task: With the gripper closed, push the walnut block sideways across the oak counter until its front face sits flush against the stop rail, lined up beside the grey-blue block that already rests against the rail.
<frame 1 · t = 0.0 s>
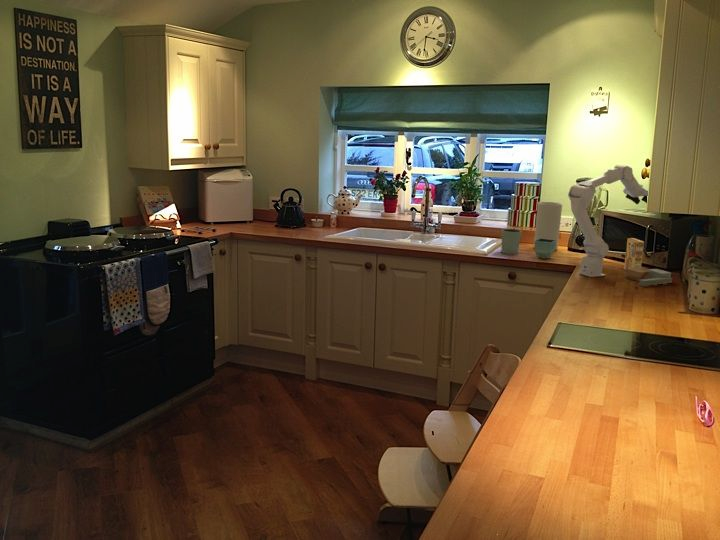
hand: (645, 203, 327), 32 cm above the countertop, tool tilted 50°, fingers open, 7 cm apart
walnut block: (637, 279, 317), on the countertop
candy box: (631, 271, 333), on the countertop
flower pot: (543, 257, 357), on the countertop
stop rail: (655, 284, 308), on the countertop
green tapered cup: (509, 253, 365), on the countertop
grey-blue block: (657, 280, 317), on the countertop
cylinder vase: (545, 249, 380), on the countertop
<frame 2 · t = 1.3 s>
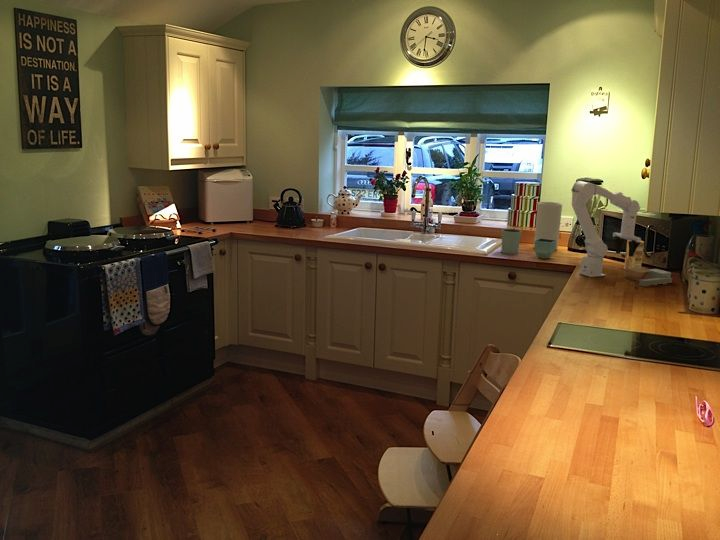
hand: (624, 254, 323), 9 cm above the countertop, tool pointing down, fingers open, 7 cm apart
nothing on the countertop moved.
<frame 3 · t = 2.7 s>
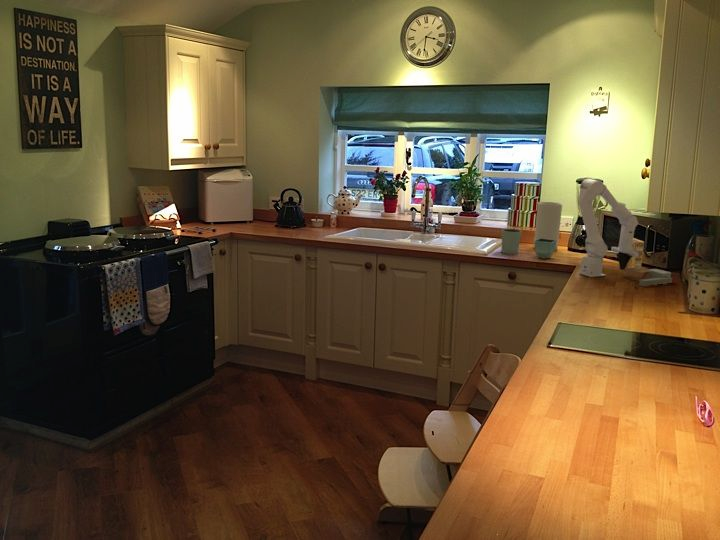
hand: (622, 269, 324), 3 cm above the countertop, tool pointing down, fingers closed
nothing on the countertop moved.
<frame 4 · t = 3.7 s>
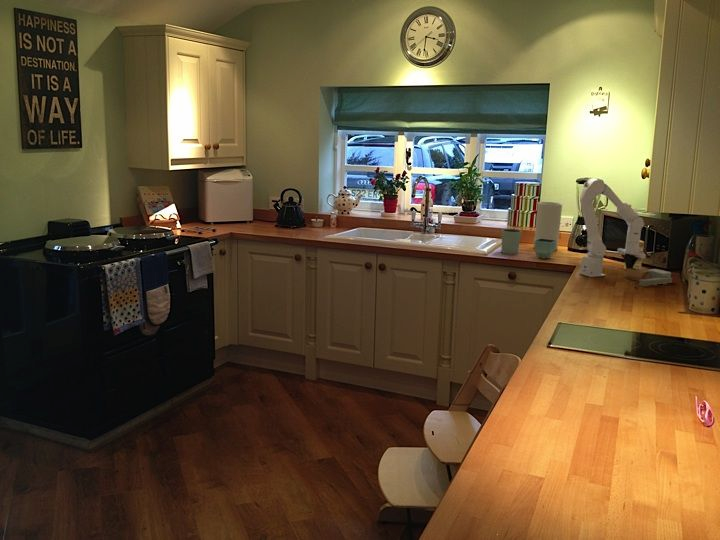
hand: (628, 270, 321), 3 cm above the countertop, tool pointing down, fingers closed
walnut block: (637, 279, 317), on the countertop, touching gripper
everything else where it was.
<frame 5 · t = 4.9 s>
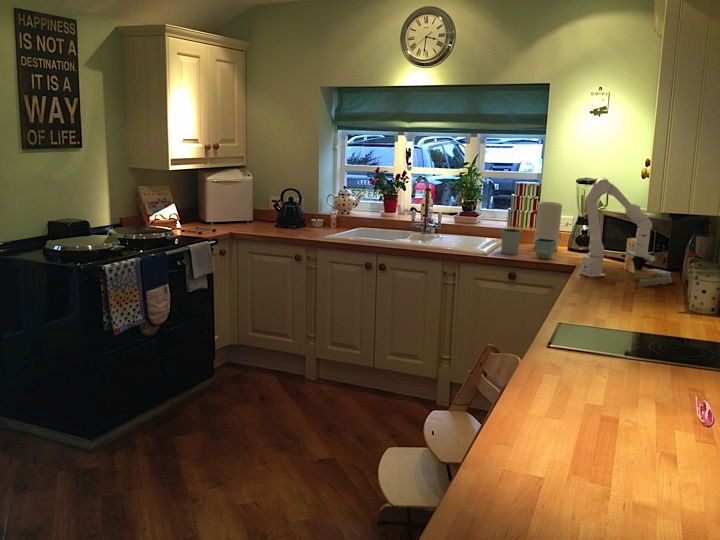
hand: (637, 273, 317), 3 cm above the countertop, tool pointing down, fingers closed
walnut block: (645, 281, 313), on the countertop, touching gripper, stop rail
everything else where it was.
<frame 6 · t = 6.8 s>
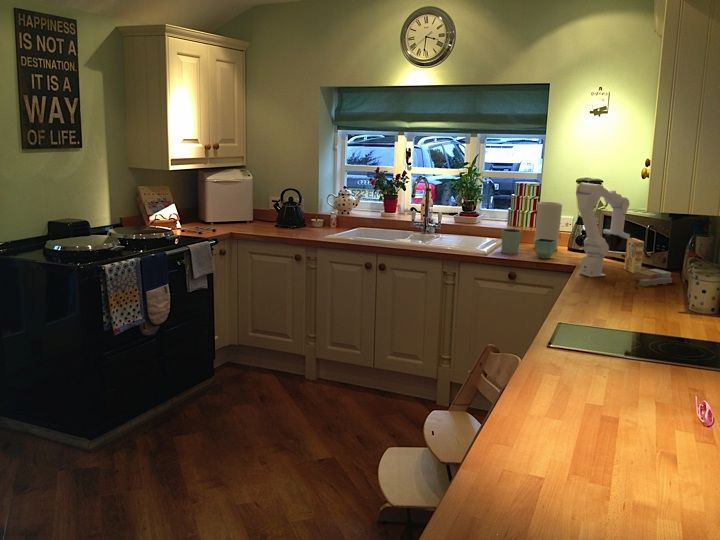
hand: (614, 251, 328), 10 cm above the countertop, tool pointing down, fingers closed
walnut block: (645, 282, 313), on the countertop
everything else where it was.
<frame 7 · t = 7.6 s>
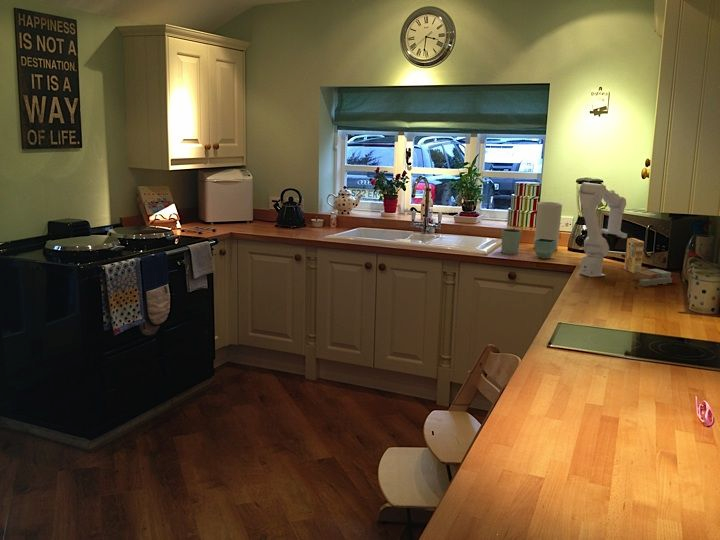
hand: (611, 250, 330), 10 cm above the countertop, tool pointing down, fingers closed
nothing on the countertop moved.
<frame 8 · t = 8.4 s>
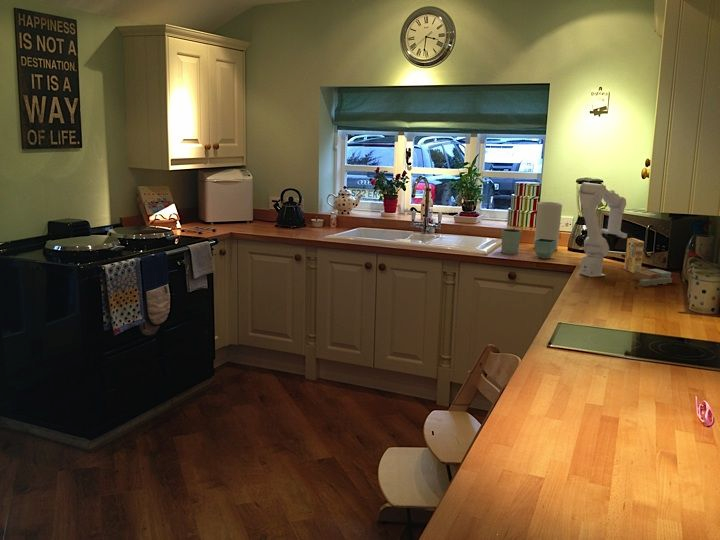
hand: (611, 250, 330), 10 cm above the countertop, tool pointing down, fingers closed
nothing on the countertop moved.
at the end: walnut block 0.5 cm from the target spot on the countertop beside the stop rail, on the countertop; walnut block tilted 0°; grey-blue block moved 0.2 cm from its start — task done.
